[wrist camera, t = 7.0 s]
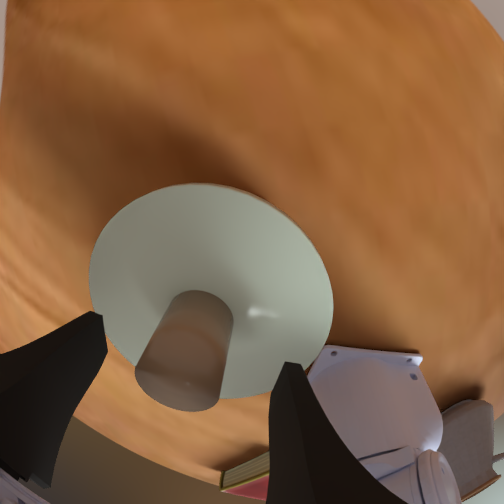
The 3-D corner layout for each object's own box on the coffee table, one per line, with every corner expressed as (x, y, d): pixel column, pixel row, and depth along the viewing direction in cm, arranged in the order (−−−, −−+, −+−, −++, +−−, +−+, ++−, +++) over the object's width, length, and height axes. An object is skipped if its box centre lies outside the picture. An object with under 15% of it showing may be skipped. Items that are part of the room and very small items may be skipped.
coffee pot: (428, 446, 27) (449, 522, 13) (398, 434, 24) (422, 534, 10) (536, 353, 20) (580, 420, 6) (532, 317, 17) (596, 399, 3)
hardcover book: (326, 489, 33) (328, 508, 29) (221, 469, 30) (217, 492, 26) (380, 464, 29) (385, 486, 25) (271, 443, 26) (270, 474, 22)
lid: (358, 205, 10) (413, 251, 6) (298, 397, 15) (302, 465, 10) (88, 175, 10) (11, 201, 6) (115, 364, 15) (83, 420, 11)
